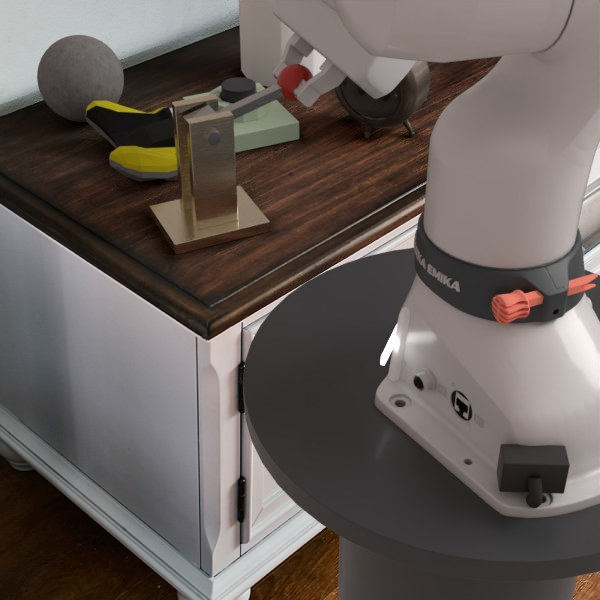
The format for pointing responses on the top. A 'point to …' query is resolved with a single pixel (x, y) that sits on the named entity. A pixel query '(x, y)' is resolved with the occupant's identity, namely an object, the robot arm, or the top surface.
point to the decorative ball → (79, 75)
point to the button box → (259, 123)
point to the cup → (266, 42)
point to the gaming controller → (137, 140)
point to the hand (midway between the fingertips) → (289, 91)
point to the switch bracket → (206, 183)
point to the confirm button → (237, 89)
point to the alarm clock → (387, 100)
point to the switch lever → (263, 93)
